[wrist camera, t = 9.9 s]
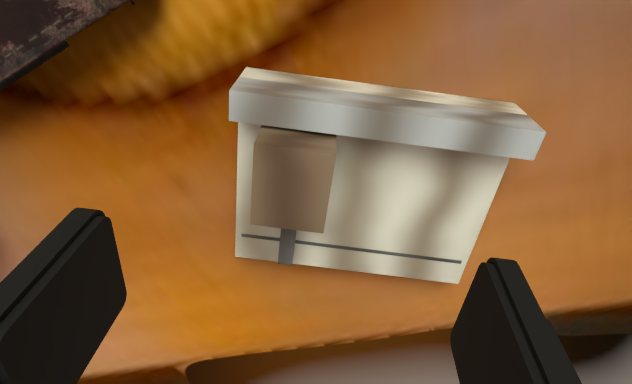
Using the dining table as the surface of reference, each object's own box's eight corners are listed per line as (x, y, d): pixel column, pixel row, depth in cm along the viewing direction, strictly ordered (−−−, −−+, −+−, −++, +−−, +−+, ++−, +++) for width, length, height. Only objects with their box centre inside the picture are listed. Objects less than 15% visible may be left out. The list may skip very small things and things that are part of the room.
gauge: (336, 123, 29) (336, 154, 25) (316, 253, 35) (313, 296, 31) (266, 114, 29) (253, 143, 25) (258, 246, 35) (247, 288, 31)
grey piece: (514, 102, 31) (546, 132, 26) (451, 265, 39) (467, 309, 34) (246, 67, 30) (229, 90, 25) (240, 239, 38) (227, 280, 34)
